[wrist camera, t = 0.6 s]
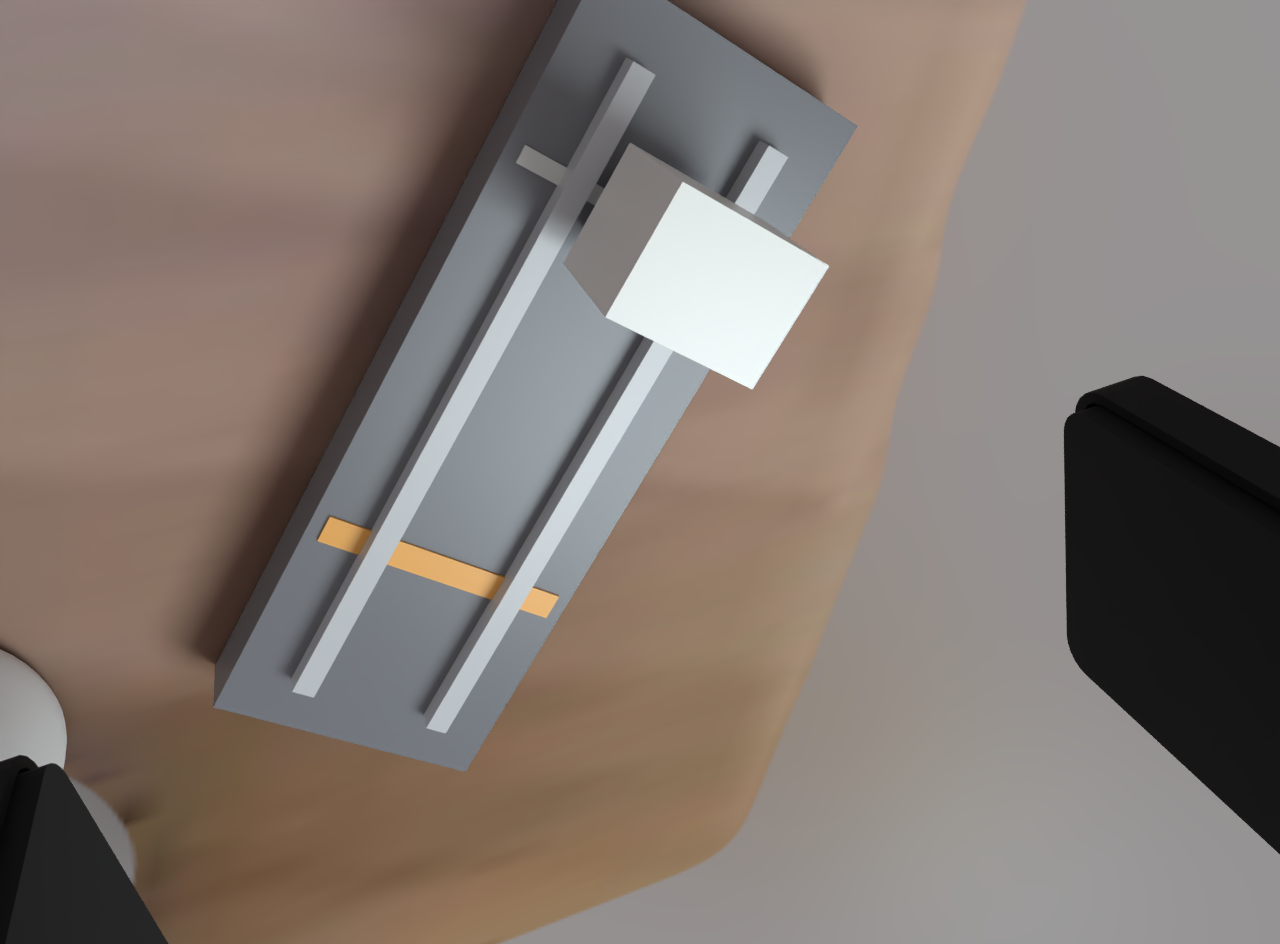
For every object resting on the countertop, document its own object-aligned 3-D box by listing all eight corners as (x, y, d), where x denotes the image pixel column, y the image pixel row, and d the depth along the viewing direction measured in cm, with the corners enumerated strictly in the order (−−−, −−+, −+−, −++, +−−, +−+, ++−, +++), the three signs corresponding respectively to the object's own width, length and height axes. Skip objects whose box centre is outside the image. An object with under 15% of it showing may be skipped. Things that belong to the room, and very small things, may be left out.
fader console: (582, -48, 35) (610, -40, 33) (825, 111, 40) (868, 130, 37) (215, 665, 43) (212, 721, 40) (455, 731, 48) (468, 785, 45)
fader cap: (609, 127, 35) (682, 181, 29) (737, 201, 38) (829, 266, 32) (546, 242, 36) (605, 317, 30) (675, 308, 39) (752, 389, 33)
